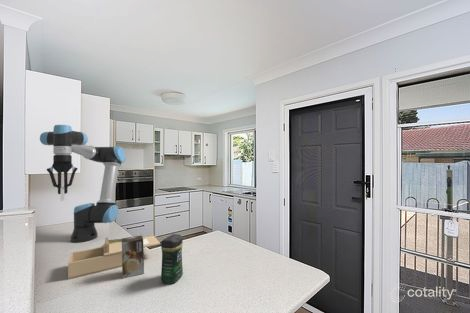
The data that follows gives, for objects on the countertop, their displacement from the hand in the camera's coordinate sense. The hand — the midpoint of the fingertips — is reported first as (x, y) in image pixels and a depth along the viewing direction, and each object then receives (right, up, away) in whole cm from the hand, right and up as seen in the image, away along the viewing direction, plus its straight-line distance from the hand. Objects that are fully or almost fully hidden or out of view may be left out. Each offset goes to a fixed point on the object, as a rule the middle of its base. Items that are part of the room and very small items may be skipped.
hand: (62, 200), depth 115 cm
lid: (+34, -25, +3) cm, 43 cm away
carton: (+16, -33, +15) cm, 40 cm away
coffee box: (+42, -32, -12) cm, 54 cm away
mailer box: (+23, -32, -4) cm, 40 cm away
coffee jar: (+62, -31, -17) cm, 72 cm away
